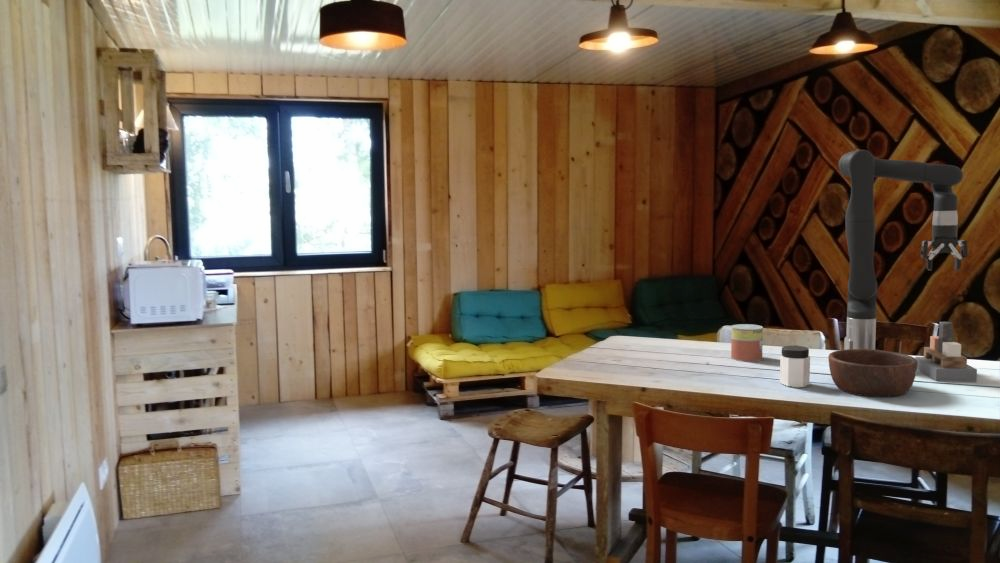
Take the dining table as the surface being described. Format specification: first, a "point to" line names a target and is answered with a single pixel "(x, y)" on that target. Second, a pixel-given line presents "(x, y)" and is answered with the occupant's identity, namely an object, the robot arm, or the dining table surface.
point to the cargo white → (951, 349)
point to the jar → (795, 366)
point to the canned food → (746, 342)
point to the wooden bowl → (872, 372)
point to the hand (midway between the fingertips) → (943, 270)
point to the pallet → (945, 359)
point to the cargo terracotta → (934, 342)
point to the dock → (945, 371)
